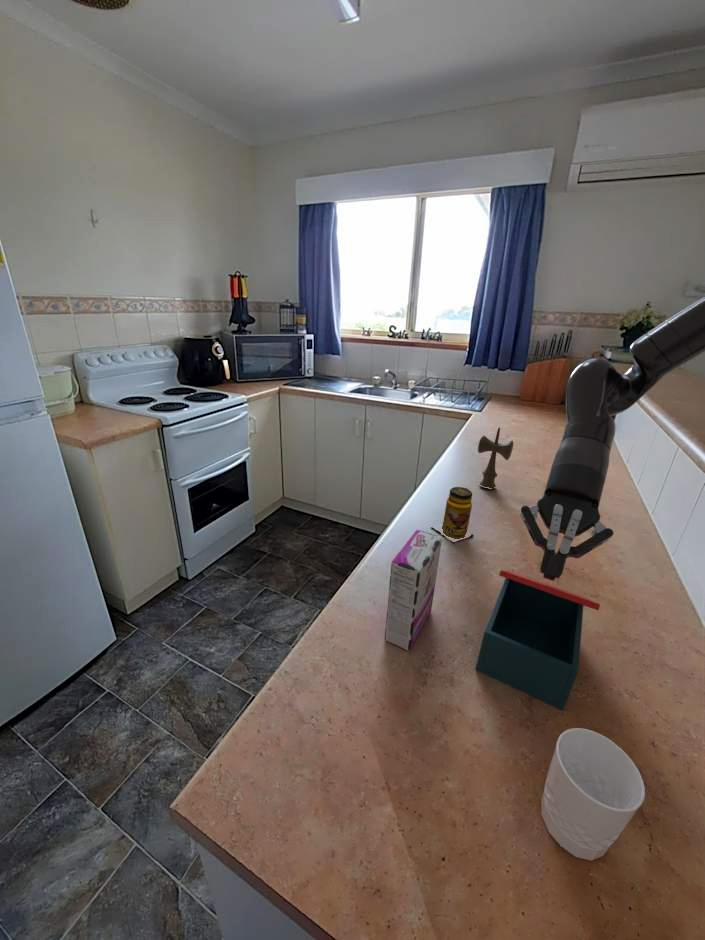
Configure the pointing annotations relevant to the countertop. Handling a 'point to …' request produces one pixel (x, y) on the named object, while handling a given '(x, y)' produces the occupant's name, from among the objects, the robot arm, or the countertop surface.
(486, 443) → the kendama
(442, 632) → the countertop surface
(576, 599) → the lid
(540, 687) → the box
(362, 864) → the countertop surface
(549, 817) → the white cup
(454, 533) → the condiment
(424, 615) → the candy bar box
